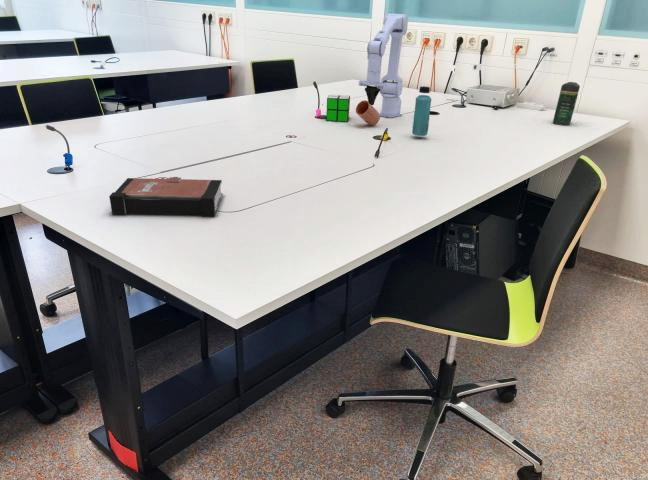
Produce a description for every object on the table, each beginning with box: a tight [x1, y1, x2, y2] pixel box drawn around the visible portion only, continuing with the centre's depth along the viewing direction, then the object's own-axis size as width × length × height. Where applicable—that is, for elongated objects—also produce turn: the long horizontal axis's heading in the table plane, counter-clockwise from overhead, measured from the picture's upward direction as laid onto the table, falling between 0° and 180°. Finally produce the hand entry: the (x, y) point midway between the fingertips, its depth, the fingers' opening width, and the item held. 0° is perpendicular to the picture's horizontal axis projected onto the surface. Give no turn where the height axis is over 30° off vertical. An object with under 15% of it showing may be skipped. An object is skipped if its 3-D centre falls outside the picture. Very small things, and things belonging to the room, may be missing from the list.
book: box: [108, 176, 224, 218], centre depth 146 cm, size 26×18×5 cm
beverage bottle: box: [411, 85, 432, 137], centre depth 220 cm, size 6×7×20 cm
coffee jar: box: [552, 81, 581, 126], centre depth 256 cm, size 10×8×19 cm
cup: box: [355, 100, 381, 127], centre depth 238 cm, size 7×7×10 cm
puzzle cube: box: [325, 94, 351, 123], centre depth 250 cm, size 10×10×10 cm
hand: (371, 105), depth 238 cm, fingers closed, pressing on cup
